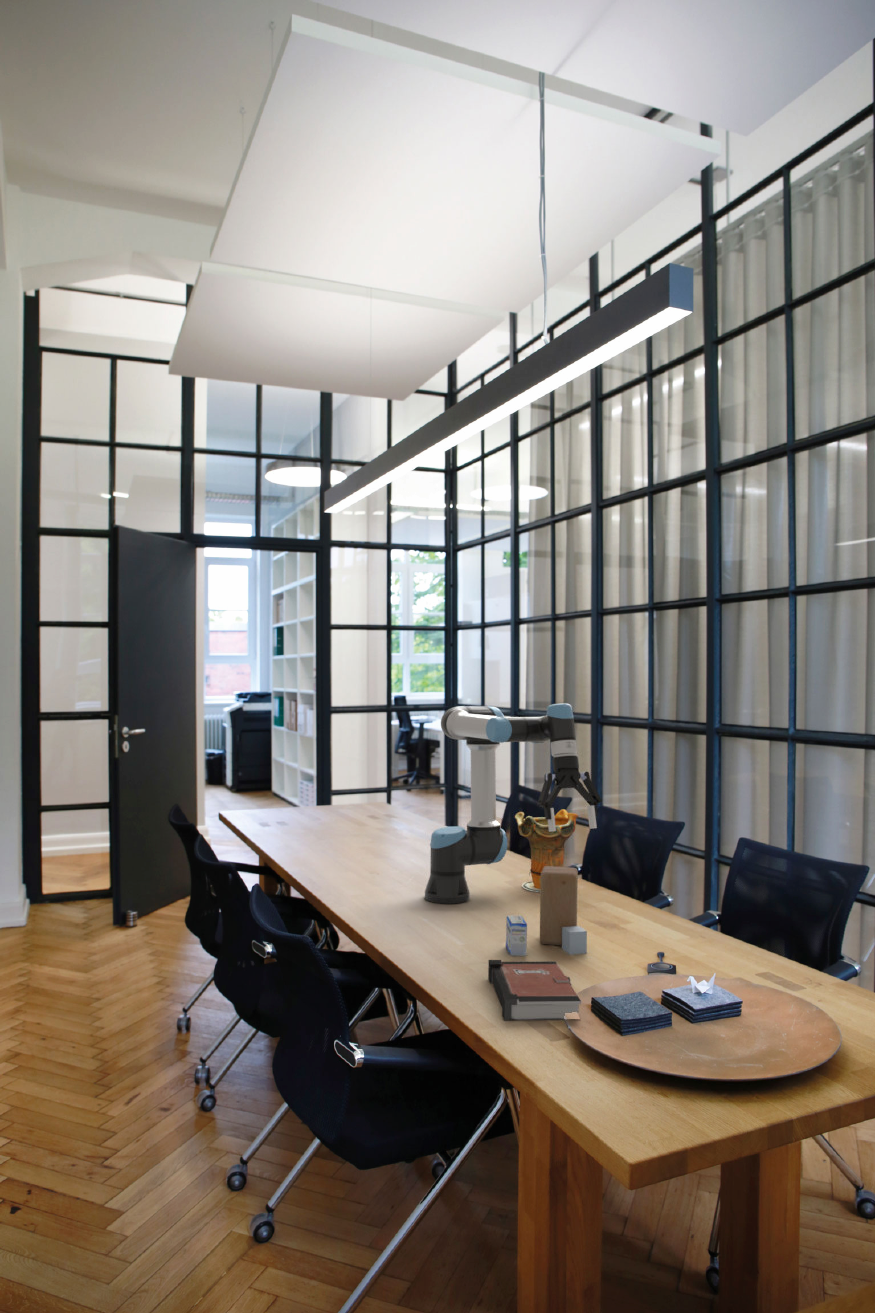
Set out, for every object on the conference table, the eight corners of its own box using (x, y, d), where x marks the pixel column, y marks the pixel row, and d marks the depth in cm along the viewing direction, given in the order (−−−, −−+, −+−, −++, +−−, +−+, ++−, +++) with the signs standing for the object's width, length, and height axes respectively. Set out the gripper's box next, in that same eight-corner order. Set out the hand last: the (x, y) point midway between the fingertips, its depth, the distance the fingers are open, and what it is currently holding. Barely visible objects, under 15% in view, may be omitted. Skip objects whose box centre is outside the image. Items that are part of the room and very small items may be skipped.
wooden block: (575, 947, 234) (576, 874, 235) (539, 944, 236) (540, 872, 237) (576, 937, 244) (577, 867, 244) (542, 934, 246) (543, 865, 246)
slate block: (569, 954, 228) (569, 932, 228) (562, 949, 233) (562, 927, 233) (586, 953, 229) (586, 931, 229) (578, 948, 234) (579, 926, 234)
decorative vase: (501, 882, 307) (506, 805, 309) (556, 881, 316) (560, 805, 318) (530, 896, 288) (535, 813, 290) (587, 894, 297) (591, 814, 299)
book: (584, 1022, 183) (584, 999, 184) (504, 1023, 182) (504, 999, 182) (558, 980, 209) (558, 959, 210) (488, 980, 208) (488, 960, 208)
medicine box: (505, 947, 234) (506, 915, 234) (521, 946, 234) (522, 915, 234) (510, 956, 226) (510, 923, 226) (526, 956, 226) (527, 923, 226)
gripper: (533, 755, 240) (541, 831, 235) (607, 753, 249) (616, 826, 245) (521, 759, 247) (528, 833, 242) (594, 756, 256) (602, 828, 251)
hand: (573, 830), depth 243 cm, fingers open, 13 cm apart
